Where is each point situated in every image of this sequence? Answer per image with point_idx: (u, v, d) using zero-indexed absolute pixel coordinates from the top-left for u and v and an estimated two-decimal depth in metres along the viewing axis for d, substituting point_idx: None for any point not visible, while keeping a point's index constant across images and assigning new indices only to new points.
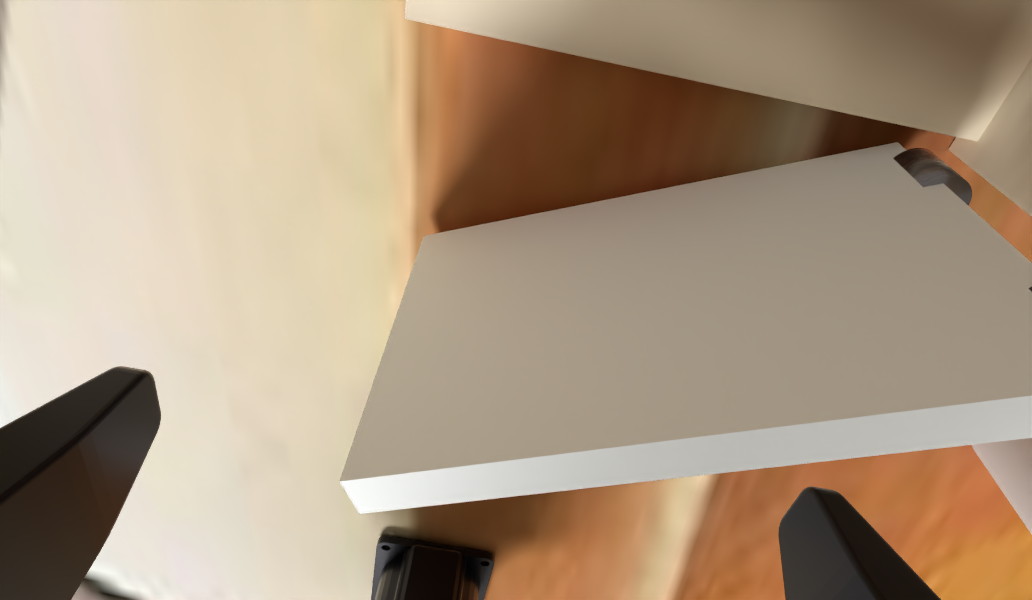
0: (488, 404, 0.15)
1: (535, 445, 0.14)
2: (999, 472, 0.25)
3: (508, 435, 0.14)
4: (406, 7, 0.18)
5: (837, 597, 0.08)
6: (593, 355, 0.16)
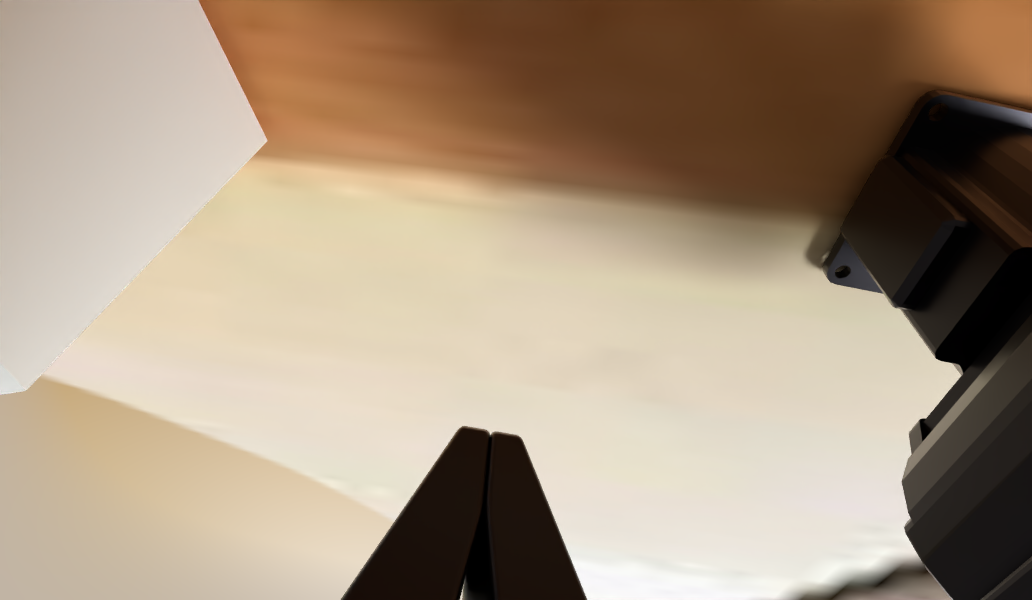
0: None
1: None
2: None
3: None
4: None
5: (477, 538, 0.07)
6: None
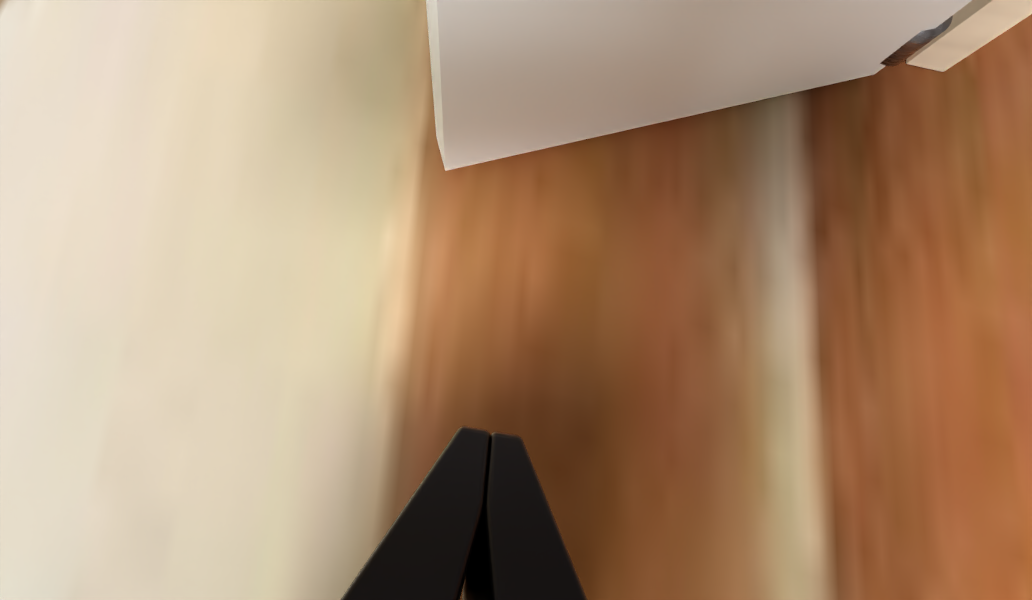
0: None
1: None
2: None
3: None
4: None
5: (477, 538, 0.07)
6: None
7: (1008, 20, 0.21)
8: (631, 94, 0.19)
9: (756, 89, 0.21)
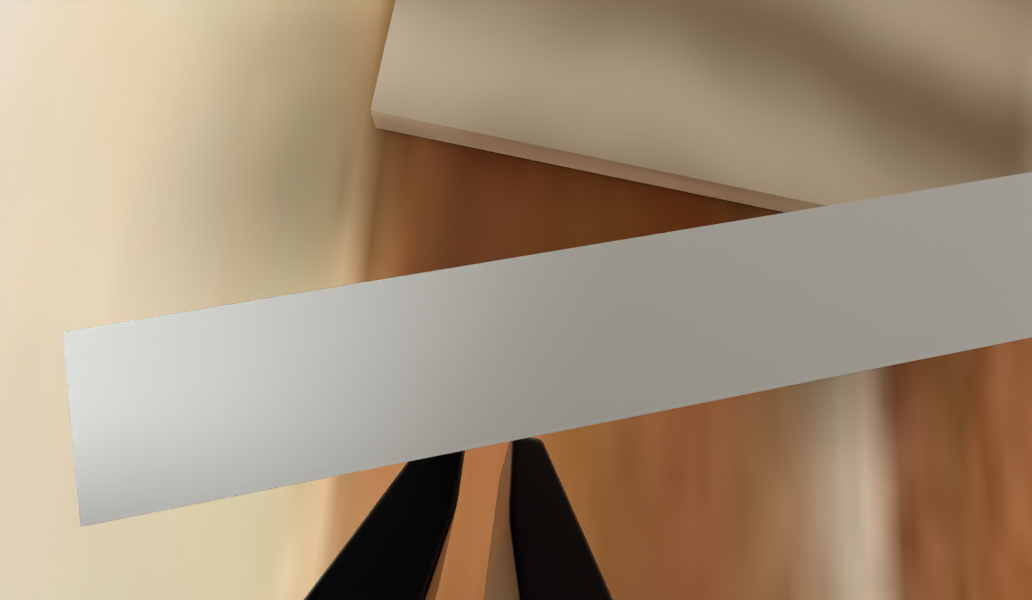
0: None
1: None
2: None
3: None
4: (374, 98, 0.15)
5: (501, 542, 0.07)
6: None
7: None
8: None
9: None
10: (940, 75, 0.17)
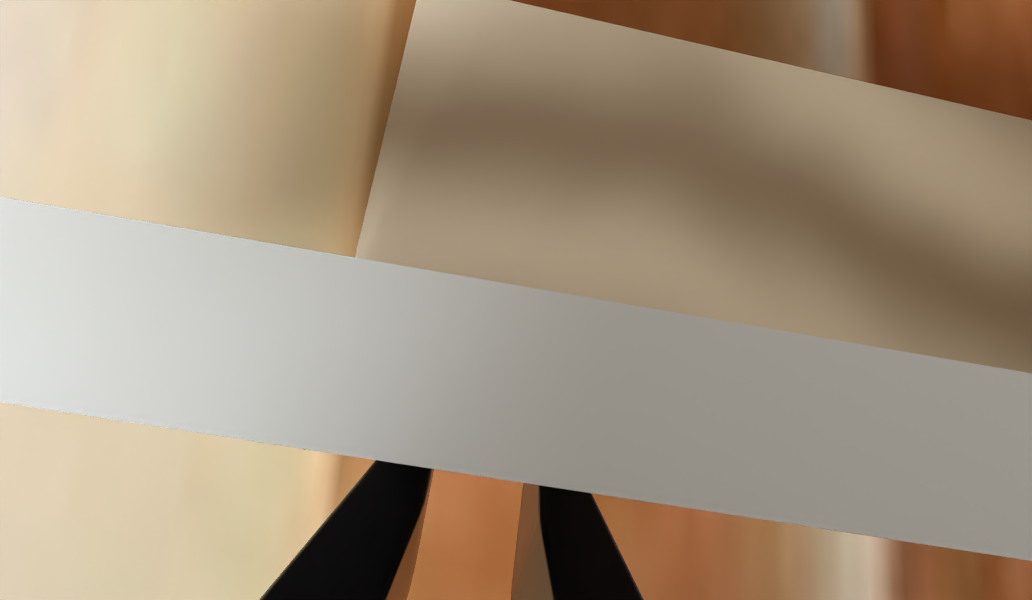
0: None
1: None
2: None
3: None
4: None
5: (530, 547, 0.07)
6: None
7: None
8: None
9: None
10: (959, 240, 0.16)
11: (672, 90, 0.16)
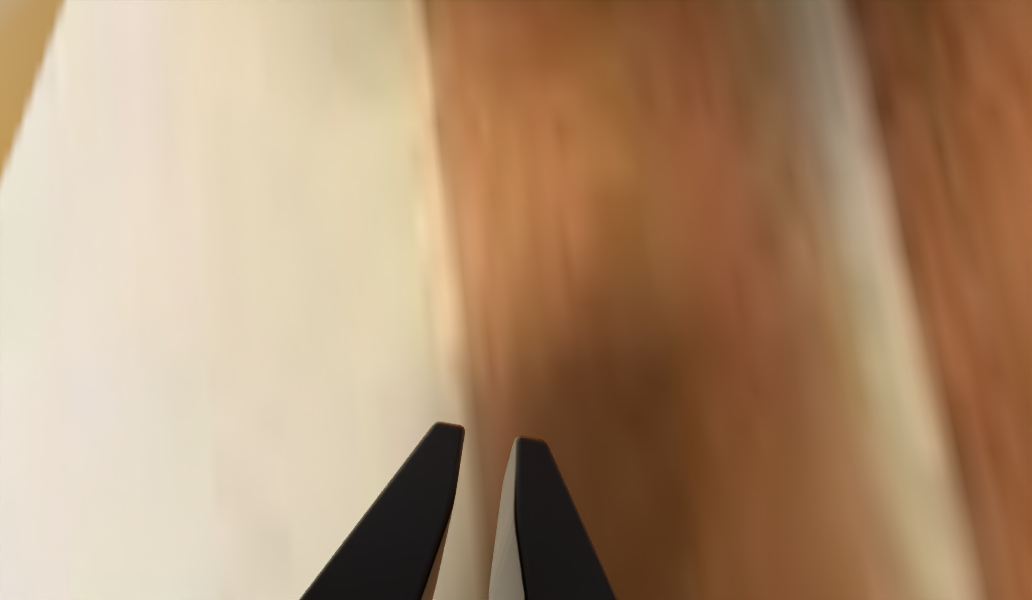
0: None
1: None
2: None
3: None
4: None
5: (506, 543, 0.07)
6: None
7: None
8: None
9: None
10: None
11: None
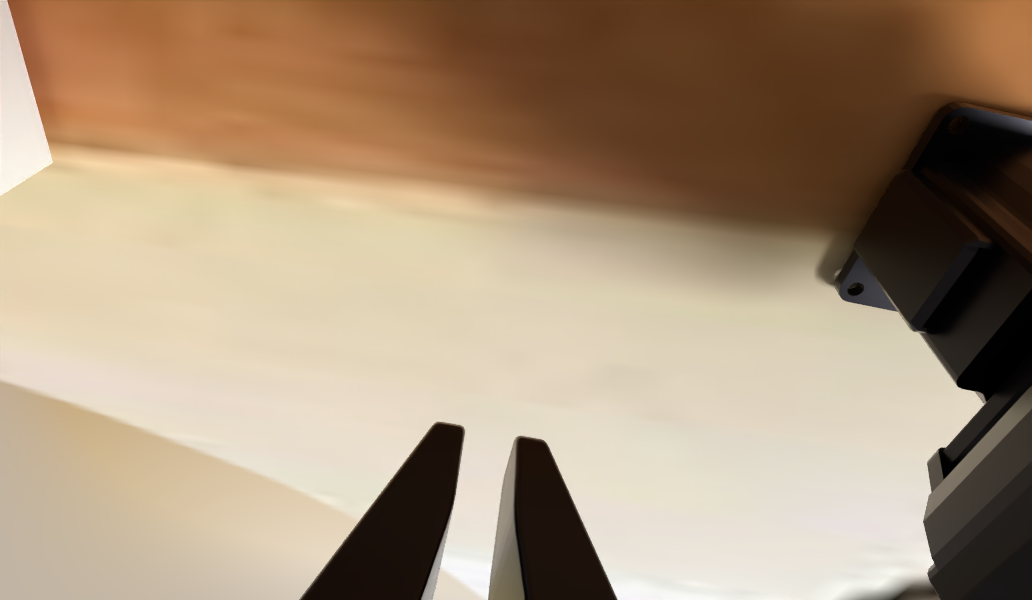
0: None
1: None
2: None
3: None
4: None
5: (506, 543, 0.07)
6: None
7: None
8: None
9: None
10: None
11: None
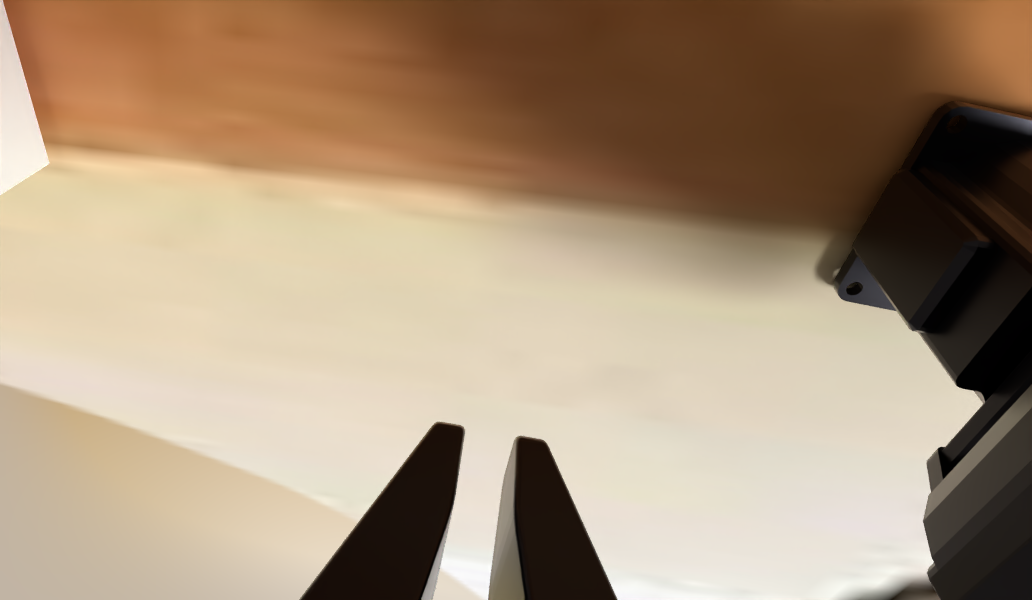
0: None
1: None
2: None
3: None
4: None
5: (505, 543, 0.07)
6: None
7: None
8: None
9: None
10: None
11: None
